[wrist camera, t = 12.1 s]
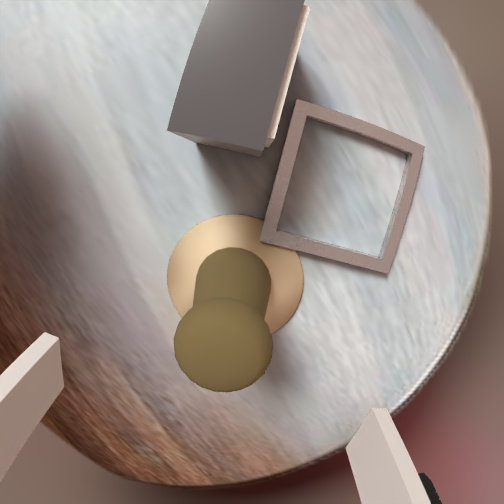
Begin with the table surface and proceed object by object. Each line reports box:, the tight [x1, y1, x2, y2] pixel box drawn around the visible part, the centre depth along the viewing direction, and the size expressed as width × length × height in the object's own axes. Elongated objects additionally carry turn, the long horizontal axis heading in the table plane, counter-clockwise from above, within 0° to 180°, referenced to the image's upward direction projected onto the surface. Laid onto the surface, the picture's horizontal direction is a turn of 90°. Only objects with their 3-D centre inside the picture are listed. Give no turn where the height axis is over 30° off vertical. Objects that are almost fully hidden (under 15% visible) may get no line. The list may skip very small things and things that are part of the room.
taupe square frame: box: [259, 99, 425, 274], centre depth 23 cm, size 11×11×1 cm
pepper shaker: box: [174, 247, 273, 392], centre depth 20 cm, size 6×6×11 cm
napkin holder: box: [167, 0, 310, 157], centre depth 17 cm, size 5×10×8 cm, turn 166°
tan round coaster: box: [167, 214, 303, 334], centre depth 25 cm, size 11×11×1 cm
